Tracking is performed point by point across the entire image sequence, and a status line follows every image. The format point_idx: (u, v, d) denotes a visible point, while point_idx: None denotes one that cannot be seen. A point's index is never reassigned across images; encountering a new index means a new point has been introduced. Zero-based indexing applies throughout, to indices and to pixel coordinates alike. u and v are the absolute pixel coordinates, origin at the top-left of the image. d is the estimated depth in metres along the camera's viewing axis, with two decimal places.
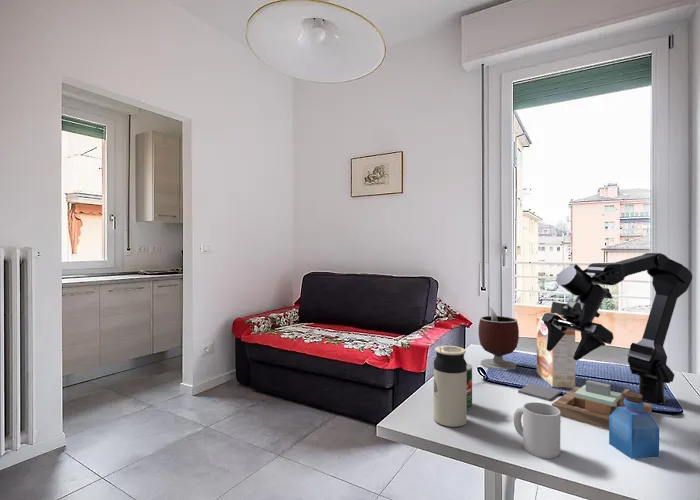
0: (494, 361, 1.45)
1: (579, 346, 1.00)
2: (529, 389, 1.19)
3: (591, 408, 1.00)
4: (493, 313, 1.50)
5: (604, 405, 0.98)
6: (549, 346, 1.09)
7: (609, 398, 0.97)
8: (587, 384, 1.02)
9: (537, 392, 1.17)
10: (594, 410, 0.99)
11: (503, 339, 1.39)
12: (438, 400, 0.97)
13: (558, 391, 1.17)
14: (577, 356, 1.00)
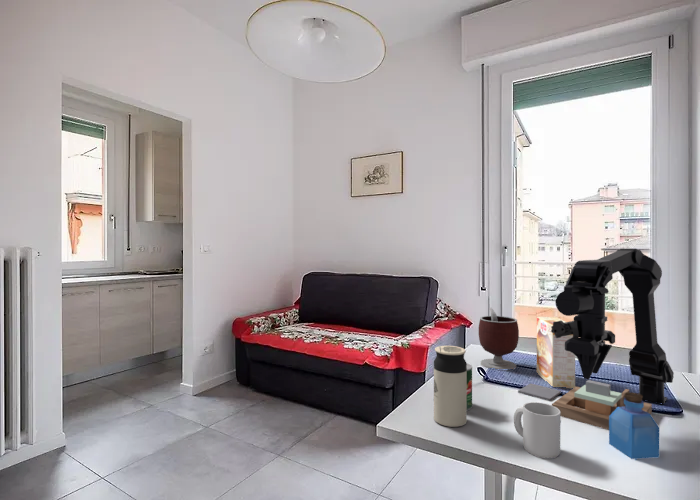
0: (494, 361, 1.45)
1: None
2: (529, 389, 1.19)
3: (591, 408, 1.00)
4: (493, 313, 1.50)
5: (604, 405, 0.98)
6: None
7: (609, 398, 0.97)
8: (587, 384, 1.02)
9: (537, 392, 1.17)
10: (594, 410, 0.99)
11: (503, 339, 1.39)
12: (438, 400, 0.97)
13: (558, 391, 1.17)
14: (584, 374, 0.94)
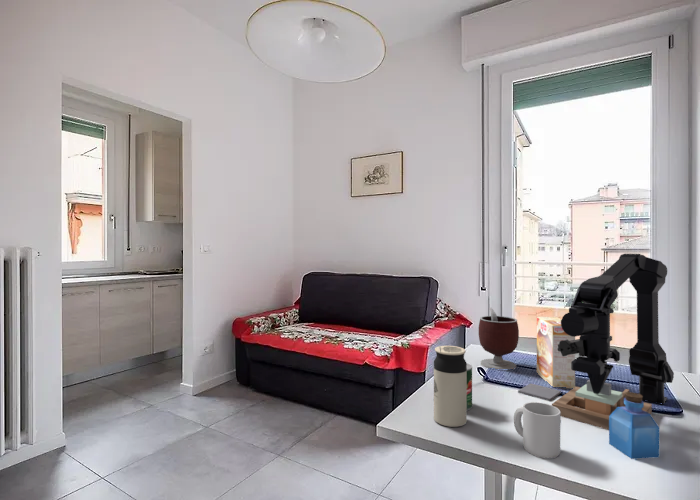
0: (494, 361, 1.45)
1: None
2: (529, 389, 1.19)
3: (591, 408, 1.00)
4: (493, 313, 1.50)
5: (604, 405, 0.98)
6: None
7: (610, 397, 0.98)
8: (587, 383, 1.02)
9: (537, 392, 1.17)
10: (594, 410, 0.99)
11: (503, 339, 1.39)
12: (438, 400, 0.97)
13: (558, 391, 1.17)
14: (594, 389, 0.99)
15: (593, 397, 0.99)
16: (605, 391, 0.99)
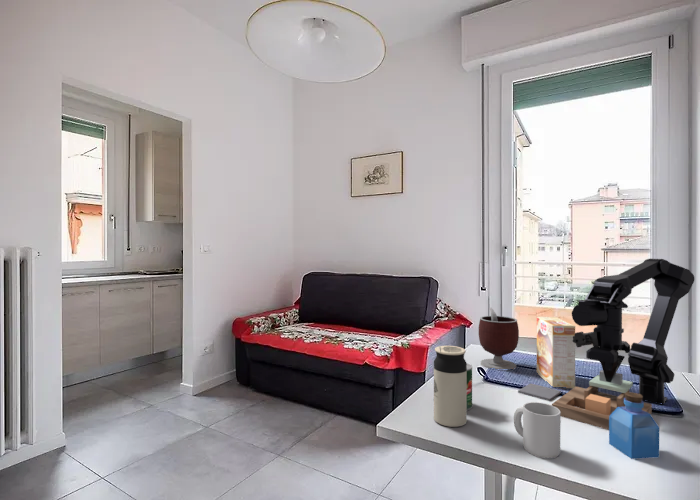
0: (494, 361, 1.45)
1: None
2: (529, 389, 1.19)
3: (591, 408, 1.00)
4: (493, 313, 1.50)
5: (604, 405, 0.98)
6: (606, 377, 1.08)
7: (621, 386, 1.05)
8: (600, 374, 1.10)
9: (537, 392, 1.17)
10: (594, 410, 0.99)
11: (503, 339, 1.39)
12: (438, 400, 0.97)
13: (558, 391, 1.17)
14: (607, 378, 1.07)
15: (606, 386, 1.06)
16: (617, 380, 1.07)
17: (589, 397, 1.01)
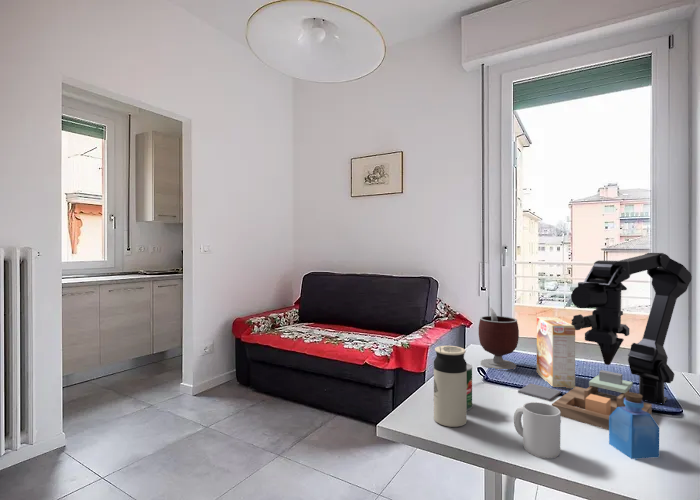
0: (494, 361, 1.45)
1: None
2: (529, 389, 1.19)
3: (591, 408, 1.00)
4: (493, 313, 1.50)
5: (604, 405, 0.98)
6: None
7: (621, 386, 1.05)
8: (600, 374, 1.10)
9: (537, 392, 1.17)
10: (594, 410, 0.99)
11: (503, 339, 1.39)
12: (438, 400, 0.97)
13: (558, 391, 1.17)
14: (605, 360, 1.07)
15: (606, 386, 1.06)
16: (617, 381, 1.07)
17: (589, 397, 1.01)
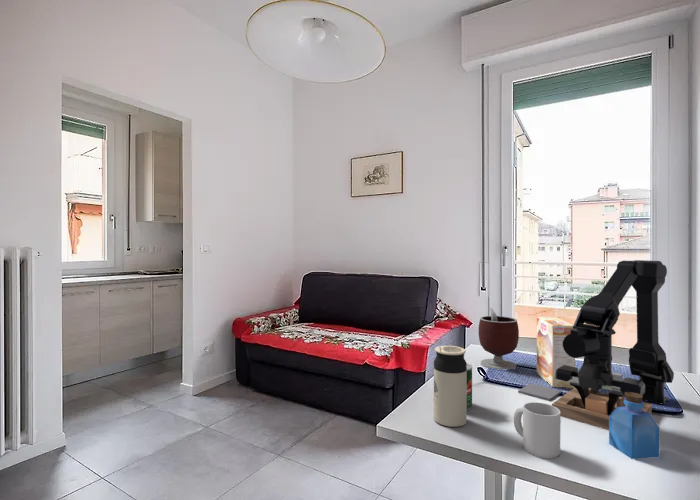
0: (494, 361, 1.45)
1: (610, 405, 0.98)
2: (529, 389, 1.19)
3: (591, 408, 1.00)
4: (493, 313, 1.50)
5: (604, 405, 0.98)
6: None
7: None
8: None
9: (537, 392, 1.17)
10: (594, 410, 0.99)
11: (503, 339, 1.39)
12: (438, 400, 0.97)
13: (558, 391, 1.17)
14: (610, 413, 0.99)
15: (606, 386, 1.06)
16: None
17: (589, 397, 1.01)
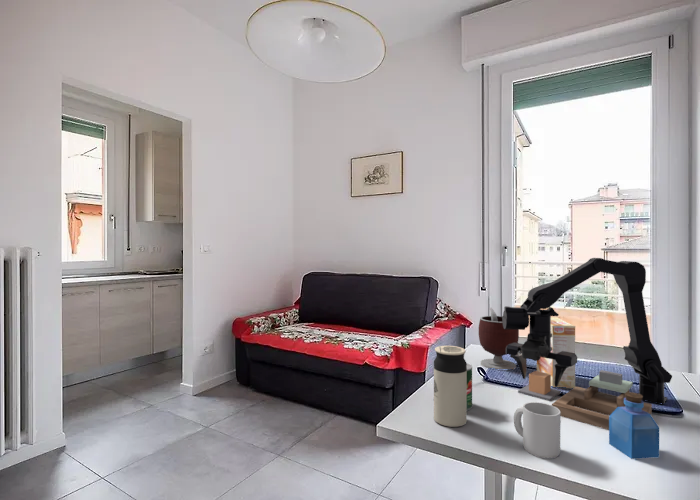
0: (494, 361, 1.45)
1: (556, 376, 1.13)
2: None
3: (534, 382, 1.17)
4: (493, 313, 1.50)
5: (543, 379, 1.15)
6: (524, 375, 1.21)
7: (621, 386, 1.05)
8: (600, 374, 1.10)
9: None
10: (536, 383, 1.17)
11: (503, 339, 1.39)
12: (438, 400, 0.97)
13: (558, 391, 1.17)
14: (557, 383, 1.14)
15: (606, 386, 1.06)
16: (617, 381, 1.07)
17: (532, 373, 1.19)
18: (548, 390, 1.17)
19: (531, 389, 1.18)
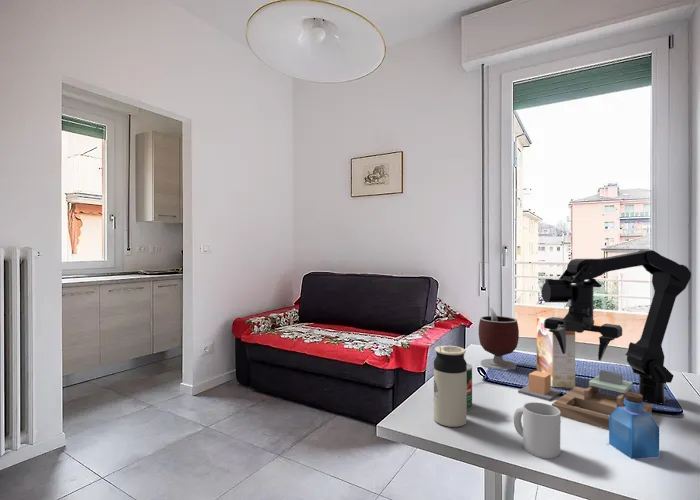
0: (494, 361, 1.45)
1: (600, 349, 1.09)
2: None
3: (534, 382, 1.17)
4: (493, 313, 1.50)
5: (543, 379, 1.15)
6: (564, 350, 1.16)
7: (621, 386, 1.05)
8: (600, 374, 1.10)
9: None
10: (536, 383, 1.17)
11: (503, 339, 1.39)
12: (438, 400, 0.97)
13: (558, 391, 1.17)
14: (601, 357, 1.10)
15: (606, 386, 1.06)
16: (617, 381, 1.07)
17: (532, 373, 1.19)
18: (548, 390, 1.17)
19: (531, 389, 1.18)
